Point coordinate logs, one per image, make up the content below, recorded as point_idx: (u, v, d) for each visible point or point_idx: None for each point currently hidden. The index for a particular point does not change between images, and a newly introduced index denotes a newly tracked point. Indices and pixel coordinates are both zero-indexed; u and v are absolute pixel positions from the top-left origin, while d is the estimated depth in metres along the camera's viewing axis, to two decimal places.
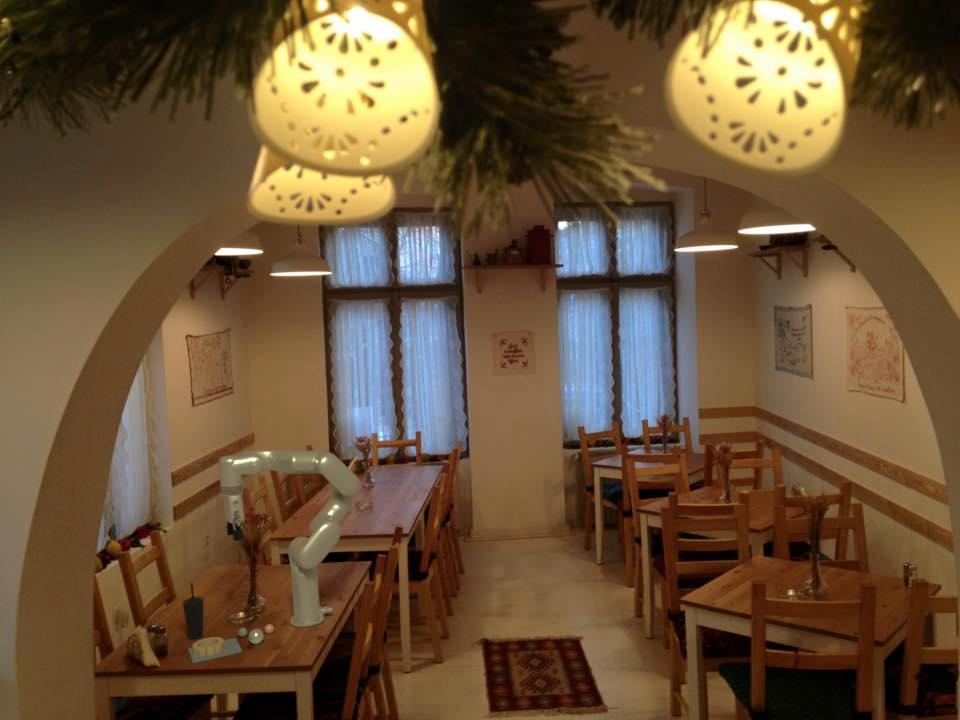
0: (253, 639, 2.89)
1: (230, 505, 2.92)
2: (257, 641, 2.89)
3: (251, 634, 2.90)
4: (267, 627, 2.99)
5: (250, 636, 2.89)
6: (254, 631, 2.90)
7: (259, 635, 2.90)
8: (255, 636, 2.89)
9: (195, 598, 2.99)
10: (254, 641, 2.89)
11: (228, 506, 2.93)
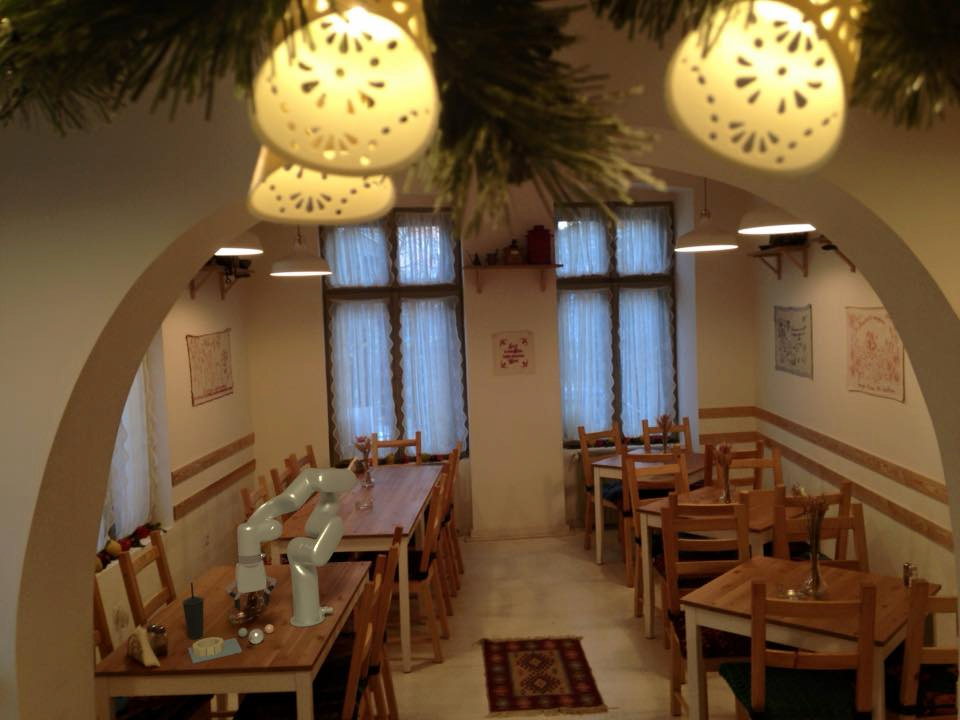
0: (253, 639, 2.89)
1: (264, 570, 2.90)
2: (257, 641, 2.89)
3: (251, 634, 2.90)
4: (267, 627, 2.99)
5: (250, 636, 2.89)
6: (254, 631, 2.90)
7: (259, 635, 2.90)
8: (255, 636, 2.89)
9: (195, 598, 2.99)
10: (254, 641, 2.89)
11: (261, 572, 2.89)
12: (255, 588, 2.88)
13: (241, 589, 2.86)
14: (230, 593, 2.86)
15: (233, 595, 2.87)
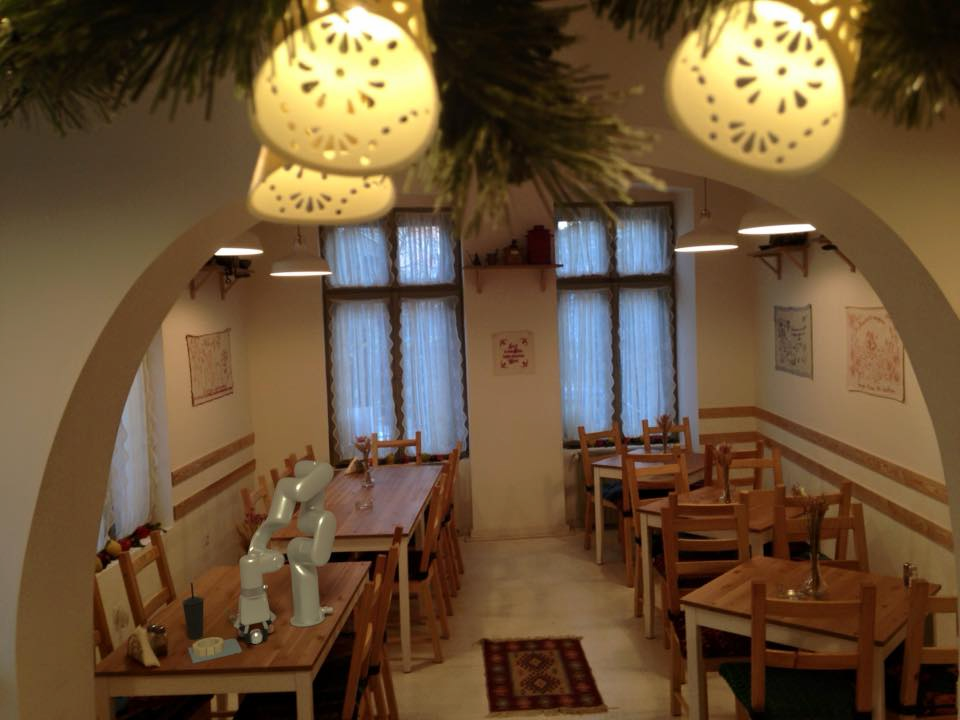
0: (253, 639, 2.89)
1: (267, 601, 2.91)
2: (257, 641, 2.89)
3: (251, 634, 2.90)
4: None
5: (250, 636, 2.89)
6: (254, 631, 2.90)
7: (259, 635, 2.90)
8: (255, 636, 2.89)
9: (195, 598, 2.99)
10: (254, 641, 2.89)
11: (264, 604, 2.90)
12: (258, 620, 2.89)
13: (244, 621, 2.87)
14: (239, 628, 2.88)
15: (243, 629, 2.88)
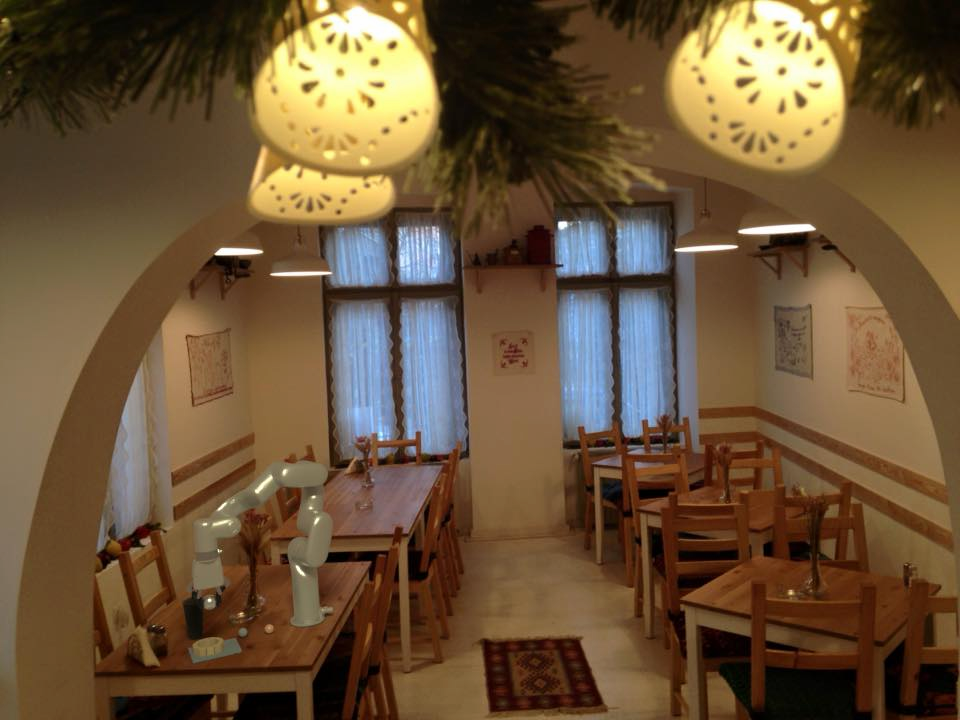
0: (206, 605, 2.82)
1: (221, 566, 2.85)
2: (210, 607, 2.83)
3: (204, 599, 2.83)
4: (267, 627, 2.99)
5: (203, 601, 2.83)
6: (207, 596, 2.84)
7: (212, 600, 2.83)
8: (209, 601, 2.82)
9: (195, 598, 2.99)
10: (207, 607, 2.82)
11: (218, 569, 2.84)
12: (212, 585, 2.83)
13: (197, 586, 2.81)
14: (192, 592, 2.81)
15: (195, 594, 2.82)
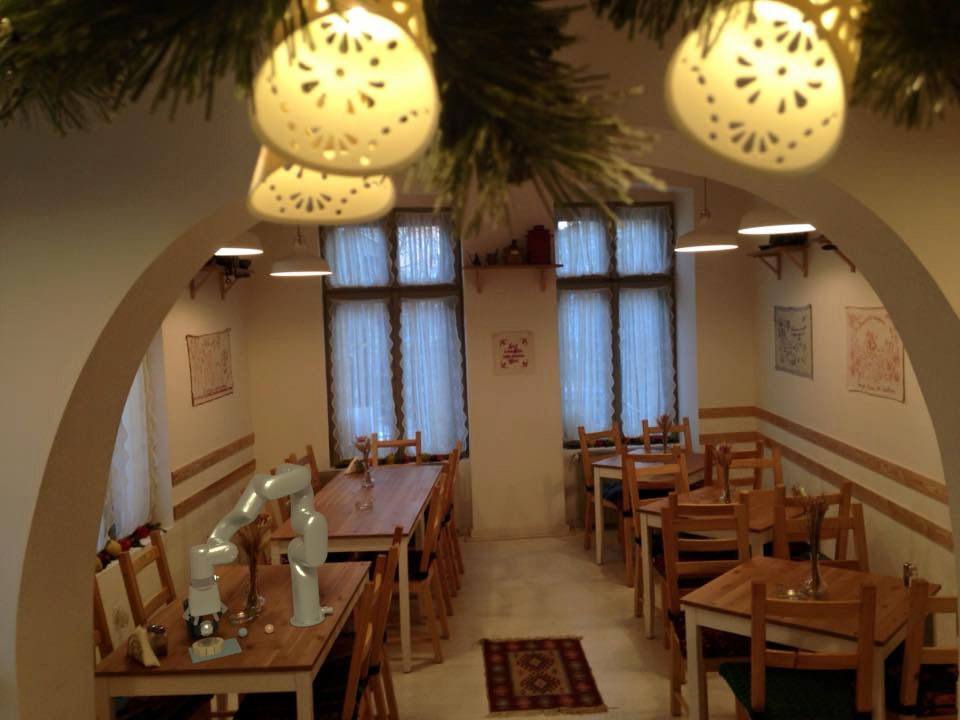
0: (203, 631, 2.82)
1: (218, 592, 2.84)
2: (207, 633, 2.83)
3: (201, 626, 2.83)
4: (267, 627, 2.99)
5: (200, 628, 2.83)
6: (204, 623, 2.84)
7: (209, 627, 2.83)
8: (205, 628, 2.82)
9: None
10: (204, 633, 2.82)
11: (215, 595, 2.84)
12: (209, 611, 2.83)
13: (194, 612, 2.81)
14: (189, 619, 2.81)
15: (192, 621, 2.82)
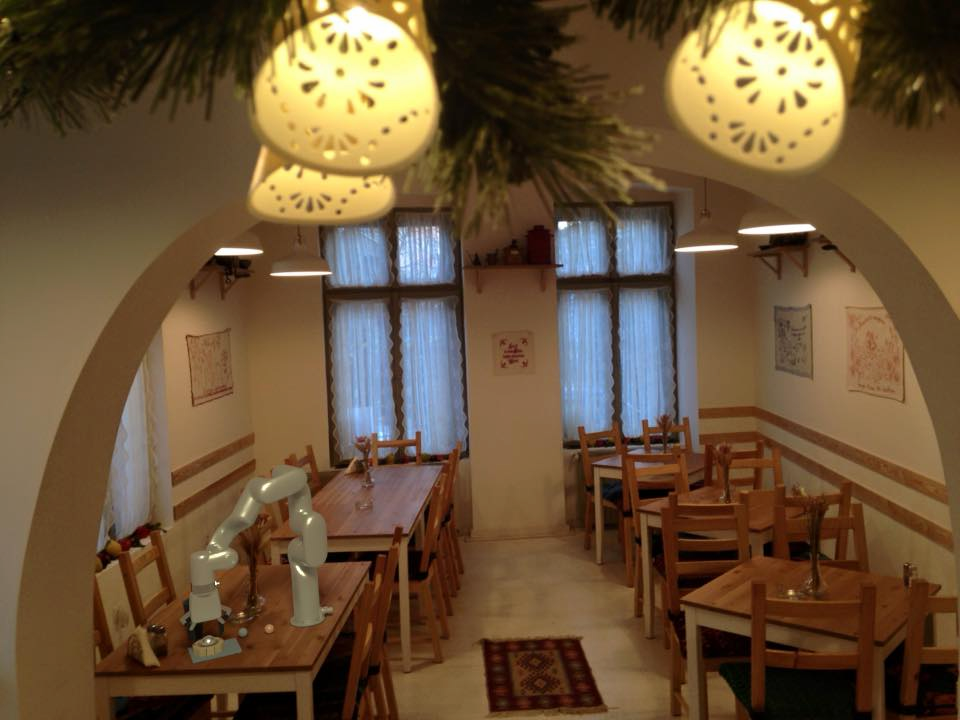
0: (205, 646, 2.83)
1: (219, 599, 2.85)
2: None
3: (203, 641, 2.83)
4: (267, 627, 2.99)
5: (202, 643, 2.83)
6: (206, 637, 2.84)
7: (211, 641, 2.84)
8: (207, 643, 2.83)
9: None
10: None
11: (215, 601, 2.84)
12: (209, 617, 2.83)
13: (195, 619, 2.81)
14: (185, 624, 2.81)
15: (188, 626, 2.81)
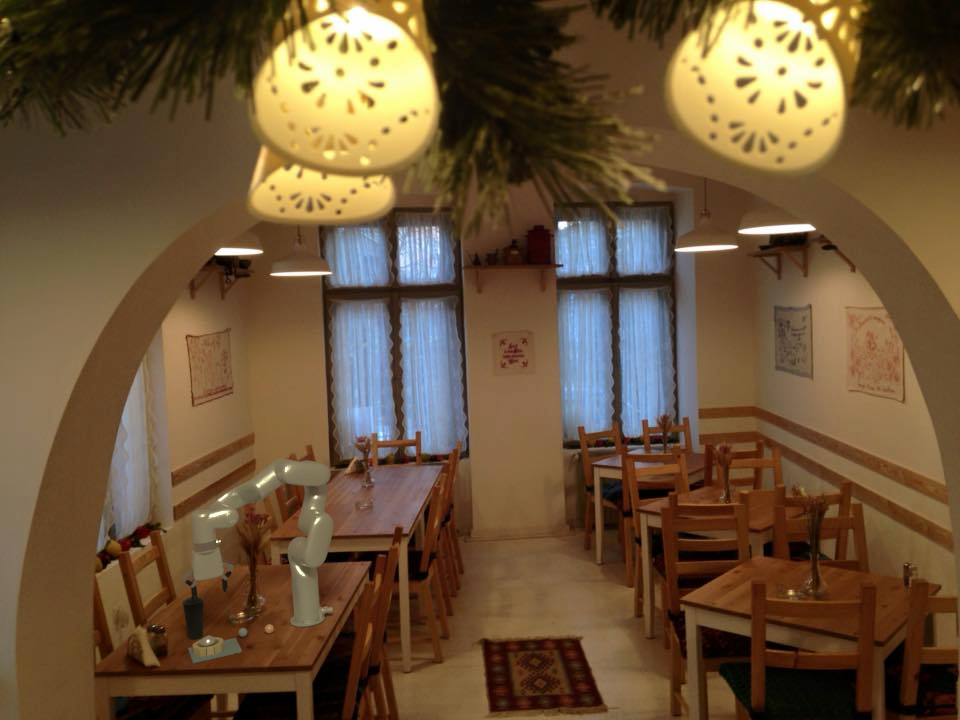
0: (205, 646, 2.83)
1: (220, 556, 2.87)
2: None
3: (202, 641, 2.83)
4: (267, 627, 2.99)
5: (201, 643, 2.83)
6: (205, 638, 2.84)
7: (211, 641, 2.83)
8: (207, 643, 2.83)
9: None
10: None
11: (217, 559, 2.86)
12: (212, 575, 2.85)
13: (197, 577, 2.83)
14: (186, 581, 2.83)
15: (190, 583, 2.83)
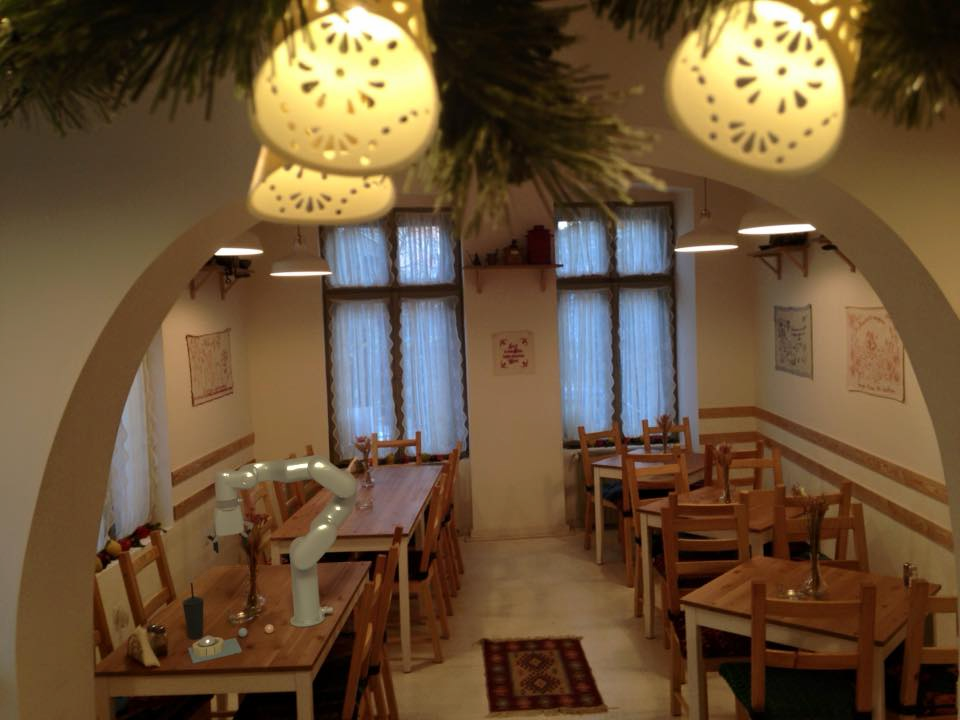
0: (204, 646, 2.83)
1: (241, 514, 3.02)
2: None
3: (202, 641, 2.83)
4: (267, 627, 2.99)
5: (201, 643, 2.83)
6: (205, 638, 2.84)
7: (210, 642, 2.83)
8: (206, 643, 2.83)
9: (195, 598, 2.99)
10: None
11: (238, 516, 3.01)
12: (233, 531, 3.00)
13: (219, 532, 2.98)
14: (209, 536, 2.98)
15: (211, 538, 2.98)
